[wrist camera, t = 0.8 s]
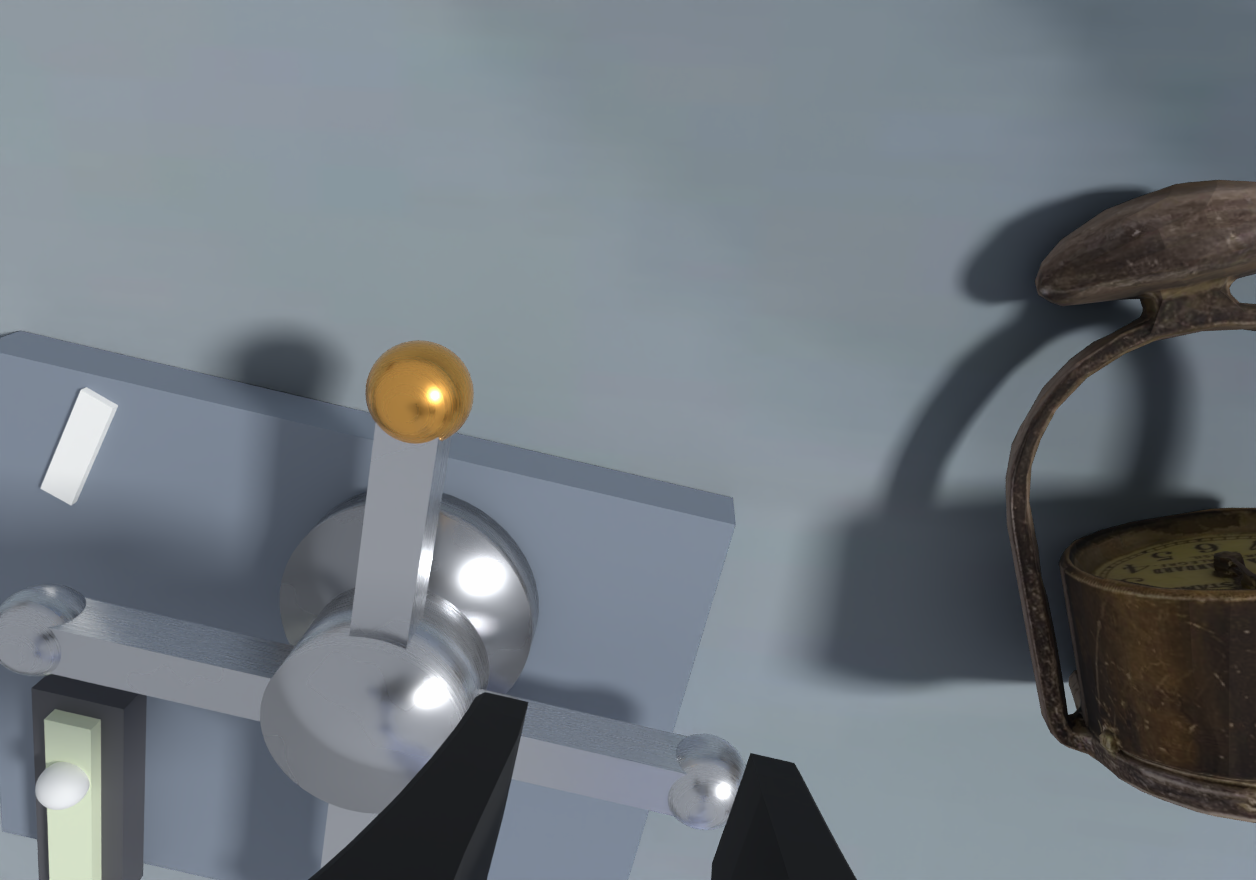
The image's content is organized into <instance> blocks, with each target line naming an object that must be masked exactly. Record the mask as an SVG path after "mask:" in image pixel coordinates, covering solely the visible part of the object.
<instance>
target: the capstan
mask: <svg viewBox="0 0 1256 880" xmlns="http://www.w3.org/2000/svg"><path fill="white" fill-rule="evenodd" d="M473 395H474V393H473V384H472V380H471V377H470V374H469V372H468V370H467V368H466V366H465V365H464V363H463V362H462V361H461V359H460V358H459V357H458V356H457V355H456V354H455V353H453V352H452V351H451V350H449V349H447V348H446V347H444V346H442V345H439V344H436V343H433V342H429V341H419V340H417V341H409V342H404V343H401V344H398V345H396V346H394V347H392V348H391V349H389V350H387V351H386V352H385V353H383V354H382V355H381V356H380V358H379V359H378V360H377V361H376V362H375V364H374V365H373V367H372V369H371V371H370V373H369V376H368V379H367V383H366V402H367V406H368V409H369V412H370V414H371V416H372V418H373V420H374V421H375V432H374V440H373V448H372V456H371V464H370V472H369V480H368V488H367V492H365V493H362V494H359V495H356V496H354V497H352V498H350V499H348V500H346V501H344V502H342V503H340V504H339V505H338V506H336V507H335V508H333V509H332V510H331V511H329V512H328V513H327V514H326V515H325V516H324V517H323V518H322V519H321V520H320V521H319V522H318V523H317V524H316V525H315V526H314V528H313V529H312V530H311V531H310V532H309V533H308V534H307V535H306V536H305V538H304V539H303V540H302V541H301V542H300V544H299V545H298V546H297V548H296V549H295V550H294V552H293V553H292V555H291V557H290V559H289V561H288V563H287V565H286V568H285V570H284V573H283V576H282V581H281V587H280V613H281V621H282V624H283V628H284V631H285V635H286V637H287V639H288V642H289V644H290V645H288V644H284V643H280V642H275V641H271V640H266V639H262V638H258V637H253V636H249V635H245V634H240V633H236V632H232V631H227V630H223V629H219V628H214V627H210V626H206V625H201V624H197V623H193V622H188V621H184V620H180V619H175V618H171V617H167V616H162V615H158V614H154V613H149V612H145V611H141V610H136V609H132V608H128V607H123V606H119V605H114V604H110V603H106V602H101V601H97V600H93V599H88V598H86V597H85V596H84V595H82V594H81V593H80V592H78V591H77V590H75V589H73V588H70V587H67V586H64V585H60V584H38V585H33V586H29V587H27V588H24V589H22V590H19V591H18V592H16V593H14V594H12V595H11V596H10V597H8V598H7V599H6V600H5V601H3V603H2V604H1V605H0V664H1V665H3V666H4V667H5V668H7V669H9V670H11V671H13V672H15V673H18V674H21V675H26V676H46V675H51V674H55V675H59V676H64V677H68V678H72V679H77V680H81V681H85V682H90V683H94V684H99V685H103V686H107V687H112V688H116V689H120V690H125V691H129V692H133V693H138V694H142V695H147V696H151V697H155V698H160V699H164V700H168V701H173V702H177V703H182V704H186V705H190V706H195V707H199V708H203V709H208V710H212V711H217V712H221V713H225V714H230V715H234V716H238V717H243V718H247V719H251V720H256V721H260V723H261V730H262V734H263V737H264V740H265V743H266V745H267V747H268V749H269V752H270V753H271V755H272V757H273V758H274V760H275V761H276V763H277V764H278V765H279V767H280V768H281V769H282V770H283V772H284V773H285V774H286V775H287V776H288V777H289V778H290V779H291V780H292V781H293V782H295V783H296V784H297V785H299V786H300V787H301V788H302V789H304V790H305V791H307V792H308V793H310V794H312V795H313V796H315V797H317V798H319V799H321V800H323V801H325V802H327V803H329V804H328V813H327V821H326V829H325V837H324V845H323V853H322V861H321V868H322V867H323V866H325V865H326V864H327V863H328V862H329V861H330V860H331V859H332V858H334V857H335V856H336V855H337V854H338V853H339V852H340V851H341V850H342V849H343V848H345V847H346V846H347V845H348V844H349V843H350V842H351V841H352V840H353V839H354V838H355V837H356V836H357V835H358V834H359V833H360V832H361V831H362V830H363V829H364V828H365V827H366V826H367V825H368V824H369V823H370V822H371V821H372V820H373V819H374V818H375V817H376V816H377V815H378V814H380V813H381V812H382V811H383V810H384V809H385V808H386V807H387V806H388V805H389V804H390V803H391V802H392V801H393V800H394V798H395V797H396V796H397V795H398V794H399V793H400V792H401V791H402V790H403V789H404V788H405V787H406V785H407V784H408V783H409V782H410V781H411V780H412V779H413V778H414V776H415V775H416V774H417V773H418V772H419V771H420V770H421V769H422V767H423V766H424V765H425V764H426V763H427V762H428V761H429V760H430V758H431V757H432V756H433V755H434V754H435V752H436V751H437V750H438V749H439V748H440V746H441V745H442V744H443V743H444V741H445V740H446V739H447V738H448V736H449V735H450V734H451V732H452V731H453V730H454V729H455V727H456V726H457V724H458V723H459V722H460V720H461V719H462V717H463V716H464V714H465V713H466V712H467V710H468V709H469V707H470V705H471V704H472V702H473V700H474V698H475V697H476V696H478V695H480V694H482V693H484V692H487V693H491V694H496V695H500V696H505V697H509V698H513V699H518V700H522V701H526V702H529V703H528V707H527V712H526V716H525V721H524V725H523V730H522V734H521V739H520V743H519V748H518V752H517V757H516V761H515V766H514V770H513V775H512V779H514V780H518V781H522V782H527V783H531V784H536V785H540V786H544V787H549V788H553V789H557V790H562V791H566V792H570V793H575V794H579V795H584V796H588V797H592V798H597V799H601V800H605V801H610V802H614V803H619V804H623V805H627V806H632V807H636V808H640V809H645V810H649V811H654V812H658V813H662V814H667V815H671V816H674V817H675V818H676V819H678V820H679V821H680V822H681V823H683V824H685V825H687V826H689V827H692V828H695V829H699V830H712V829H717V828H720V827H722V826H724V825H726V822H727V819H728V817H729V814H730V811H731V808H732V805H733V802H734V799H735V796H736V794H737V791H738V788H739V785H740V782H741V779H742V776H743V774H744V771H745V768H746V764H745V762H744V760H743V758H742V756H741V755H740V753H739V752H738V751H737V749H736V748H735V747H734V746H733V745H731V744H730V743H729V742H728V741H726V740H724V739H722V738H720V737H718V736H715V735H711V734H695V735H691V736H683V735H679V734H675V733H670V732H666V731H662V730H657V729H653V728H649V727H644V726H640V725H636V724H631V723H627V722H623V721H618V720H614V719H610V718H605V717H601V716H597V715H592V714H588V713H583V712H579V711H575V710H570V709H566V708H562V707H557V706H553V705H549V704H544V703H540V702H536V701H531V700H527V699H523V698H518V697H514V696H510V695H505V694H506V693H507V692H508V691H509V690H510V689H511V688H512V686H513V685H514V683H515V682H516V680H517V679H518V678H519V676H520V674H521V672H522V670H523V668H524V666H525V664H526V661H527V658H528V654H529V651H530V648H531V644H532V641H533V638H534V634H535V631H536V628H537V622H538V615H539V598H538V592H537V586H536V582H535V579H534V576H533V572H532V570H531V568H530V565H529V563H528V561H527V559H526V557H525V555H524V554H523V552H522V551H521V549H520V548H519V546H518V544H517V543H516V542H515V541H514V539H513V538H512V537H511V536H510V535H509V534H508V532H507V531H506V530H505V529H504V528H503V527H502V526H500V525H499V524H498V523H497V522H496V521H495V520H494V519H493V518H491V517H490V516H488V515H487V514H486V513H484V512H483V511H482V510H480V509H478V508H476V507H475V506H473V505H471V504H469V503H468V502H466V501H463V500H461V499H459V498H456V497H454V496H452V495H449V494H445V493H443V488H444V482H445V475H446V469H447V463H448V457H449V450H450V444H451V438H452V435H453V434H455V433H456V432H457V431H458V430H459V429H460V428H461V427H462V425H463V424H464V423H465V421H466V419H467V418H468V416H469V413H470V411H471V408H472V404H473Z"/></svg>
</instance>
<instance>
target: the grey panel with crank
mask: <svg viewBox="0 0 1256 880" xmlns="http://www.w3.org/2000/svg"><path fill="white" fill-rule="evenodd" d="M374 432H375V421H374V420H373V418H372V416H371V414H370V413H369V412H365V411H360V410H356V409H352V408H347V407H343V406H339V405H335V404H330V403H326V402H322V401H318V400H313V399H309V398H305V397H301V396H296V395H292V394H288V393H284V392H279V391H275V390H271V389H267V388H262V387H258V386H254V385H249V384H245V383H241V382H237V381H232V380H228V379H224V378H220V377H215V376H211V375H207V374H203V373H198V372H194V371H190V370H186V369H181V368H177V367H173V366H169V365H164V364H160V363H156V362H151V361H147V360H143V359H139V358H134V357H130V356H126V355H122V354H117V353H113V352H109V351H105V350H100V349H96V348H92V347H88V346H83V345H79V344H75V343H70V342H66V341H62V340H58V339H53V338H49V337H45V336H41V335H36V334H32V333H28V332H24V331H19V332H16V333H13V334H10V335H7V336H4V337H0V605H1V604H2V603H3V601H5V600H6V599H7V598H8V597H10V596H11V595H12V594H14V593H16V592H18V591H19V590H22V589H24V588H27V587H29V586H33V585H38V584H60V585H64V586H67V587H70V588H73V589H75V590H77V591H78V592H80V593H81V594H82V595H84V596H85V597H86V598H88V599H93V600H97V601H101V602H106V603H110V604H114V605H119V606H123V607H128V608H132V609H136V610H141V611H145V612H149V613H154V614H158V615H162V616H167V617H171V618H175V619H180V620H184V621H188V622H193V623H197V624H201V625H206V626H210V627H214V628H219V629H223V630H227V631H232V632H236V633H240V634H245V635H249V636H253V637H258V638H262V639H266V640H271V641H275V642H280V643H284V644H288V645H290V644H289V642H288V639H287V637H286V635H285V631H284V628H283V624H282V621H281V613H280V587H281V581H282V576H283V573H284V570H285V568H286V565H287V563H288V561H289V559H290V557H291V555H292V553H293V552H294V550H295V549H296V548H297V546H298V545H299V544H300V542H301V541H302V540H303V539H304V538H305V536H306V535H307V534H308V533H309V532H310V531H311V530H312V529H313V528H314V526H315V525H316V524H317V523H318V522H319V521H320V520H321V519H322V518H323V517H324V516H325V515H326V514H327V513H328V512H329V511H331V510H332V509H333V508H335V507H336V506H338V505H339V504H340V503H342V502H344V501H346V500H348V499H350V498H352V497H354V496H356V495H359V494H362V493H365V492H367V488H368V480H369V472H370V464H371V456H372V448H373V440H374ZM443 493H445V494H449V495H452V496H454V497H456V498H459V499H461V500H463V501H466V502H468V503H469V504H471V505H473V506H475V507H476V508H478V509H480V510H482V511H483V512H484V513H486V514H487V515H488V516H490V517H491V518H493V519H494V520H495V521H496V522H497V523H498V524H499V525H500V526H502V527H503V528H504V529H505V530H506V531H507V532H508V534H509V535H510V536H511V537H512V538H513V539H514V541H515V542H516V543H517V544H518V546H519V548H520V549H521V551H522V552H523V554H524V555H525V557H526V559H527V561H528V563H529V565H530V568H531V570H532V572H533V576H534V579H535V582H536V586H537V592H538V598H539V615H538V622H537V628H536V631H535V634H534V638H533V641H532V644H531V648H530V651H529V654H528V658H527V661H526V664H525V666H524V668H523V670H522V672H521V674H520V676H519V678H518V679H517V680H516V682H515V683H514V685H513V686H512V688H511V689H510V690H509V691H508V692H507V693H506V694H505V695H510V696H514V697H518V698H523V699H527V700H531V701H536V702H540V703H544V704H549V705H553V706H557V707H562V708H566V709H570V710H575V711H579V712H583V713H588V714H592V715H597V716H601V717H605V718H610V719H614V720H618V721H623V722H627V723H631V724H636V725H640V726H644V727H649V728H653V729H657V730H662V731H666V732H670V733H673V730H674V727H675V723H676V720H677V717H678V713H679V710H680V707H681V704H682V700H683V697H684V694H685V690H686V687H687V684H688V680H689V677H690V674H691V671H692V667H693V664H694V661H695V657H696V654H697V651H698V647H699V644H700V641H701V638H702V634H703V631H704V628H705V624H706V621H707V618H708V614H709V611H710V608H711V605H712V601H713V598H714V595H715V591H716V588H717V585H718V581H719V578H720V575H721V572H722V568H723V565H724V562H725V558H726V555H727V552H728V549H729V545H730V542H731V539H732V535H733V532H734V529H735V525H736V524H735V514H734V504H733V498H731V497H727V496H722V495H718V494H714V493H710V492H705V491H701V490H697V489H693V488H688V487H684V486H680V485H676V484H671V483H667V482H663V481H659V480H654V479H650V478H646V477H641V476H637V475H633V474H629V473H624V472H620V471H616V470H612V469H607V468H603V467H599V466H595V465H590V464H586V463H582V462H578V461H573V460H569V459H565V458H561V457H556V456H552V455H548V454H543V453H539V452H535V451H531V450H526V449H522V448H518V447H514V446H509V445H505V444H501V443H497V442H492V441H488V440H484V439H480V438H475V437H471V436H467V435H463V434H458V433H455V434H453V435H452V438H451V444H450V450H449V457H448V463H447V469H446V475H445V482H444V488H443ZM0 802H1V819H2V831H4V832H8V833H12V834H17V835H21V836H26V837H30V838H35V839H37V842H38V868H39V880H140V879H141V877H142V876H143V863H145V864H150V865H154V866H158V867H163V868H167V869H172V870H176V871H181V872H185V873H189V874H194V875H198V876H203V877H207V878H212V879H216V880H308V879H309V878H311V877H312V876H313V875H314V874H315V873H317V872H318V871H319V870H320V869H321V861H322V853H323V845H324V837H325V829H326V821H327V813H328V804H329V803H327V802H325V801H323V800H321V799H319V798H317V797H315V796H313V795H312V794H310V793H308V792H307V791H305V790H304V789H302V788H301V787H300V786H299V785H297V784H296V783H295V782H293V781H292V780H291V779H290V778H289V777H288V776H287V775H286V774H285V773H284V772H283V770H282V769H281V768H280V767H279V765H278V764H277V763H276V761H275V760H274V758H273V757H272V755H271V753H270V752H269V749H268V747H267V745H266V743H265V740H264V737H263V734H262V730H261V723H260V721H256V720H251V719H247V718H243V717H238V716H234V715H230V714H225V713H221V712H217V711H212V710H208V709H203V708H199V707H195V706H190V705H186V704H182V703H177V702H173V701H168V700H164V699H160V698H155V697H151V696H147V695H142V694H138V693H133V692H129V691H125V690H120V689H116V688H112V687H107V686H103V685H99V684H94V683H90V682H85V681H81V680H77V679H72V678H68V677H64V676H59V675H55V674H51V675H46V676H26V675H21V674H18V673H15V672H13V671H11V670H9V669H7V668H5V667H4V666H3V665H1V664H0ZM648 812H649V810H645V809H640V808H636V807H632V806H627V805H623V804H619V803H614V802H610V801H605V800H601V799H597V798H592V797H588V796H584V795H579V794H575V793H570V792H566V791H562V790H557V789H553V788H549V787H544V786H540V785H536V784H531V783H527V782H522V781H518V780H514V779H511V784H510V788H509V793H508V797H507V802H506V806H505V811H504V815H503V819H502V823H501V827H500V831H499V835H498V838H497V842H496V846H495V850H494V854H493V858H492V862H491V866H490V869H489V873H488V877H487V880H628V878H629V875H630V872H631V868H632V865H633V862H634V858H635V855H636V852H637V849H638V845H639V842H640V839H641V835H642V832H643V829H644V826H645V822H646V819H647V816H648Z"/></svg>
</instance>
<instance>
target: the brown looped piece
mask: <svg viewBox="0 0 1256 880" xmlns="http://www.w3.org/2000/svg"><path fill="white" fill-rule="evenodd" d="M1253 274H1256V182H1249V181H1229V180H1212V181H1200V182H1188V183H1181V184H1175V185H1172V186H1169V187H1166V188H1163V189H1160V190H1157V191H1155V192H1152V193H1149V194H1146V195H1143V196H1140V197H1137V198H1134V199H1132V200H1129V201H1127V202H1124V203H1122V204H1119V205H1116V206H1114V207H1111V208H1109V209H1106V210H1104V211H1102V212H1101V213H1100V214H1098V215H1097V216H1095V217H1094V218H1092V219H1091V220H1089V221H1088V222H1086V223H1085V224H1084V225H1082V226H1081V227H1079V228H1078V229H1076V230H1075V231H1073V232H1072V233H1070V234H1069V235H1067V236H1066V237H1065V238H1063V239H1062V240H1060V241H1059V243H1058V244H1057V245H1056V246H1055V247H1054V248H1053V250H1052V251H1051V252H1050V253H1049V254H1048V256H1047V257H1046V258H1045V259H1044V260H1043V261H1042V263H1041V266H1040V268H1039V271H1038V274H1037V277H1036V279H1035V284H1036V288H1037V292H1038V295H1040V296H1041V297H1043V298H1045V299H1046V300H1048V301H1050V302H1051V303H1054V304H1057V305H1060V306H1069V305H1078V304H1086V303H1095V302H1104V301H1112V300H1124V299H1140V301H1141V304H1142V307H1143V312H1142V314H1141V316H1140V318H1138V319H1136V320H1135V321H1133V322H1131V323H1129V324H1128V325H1126V326H1124V327H1122V328H1120V329H1119V330H1117V331H1115V332H1113V333H1112V334H1110V335H1107V336H1105V337H1103V338H1101V339H1099V340H1097V341H1094V342H1093V343H1091V344H1090V345H1089V346H1087V347H1086V348H1085V349H1083V350H1082V351H1080V352H1079V353H1078V354H1076V355H1075V356H1074V357H1072V358H1071V359H1070V360H1069V361H1068V362H1067V363H1066V364H1065V365H1064V366H1063V367H1062V368H1061V369H1060V370H1059V371H1058V372H1057V373H1056V374H1055V375H1054V376H1053V377H1052V378H1051V380H1050V381H1049V382H1048V383H1047V384H1046V385H1045V386H1044V387H1043V388H1042V390H1041V392H1040V393H1039V395H1038V397H1037V399H1036V400H1035V402H1034V404H1033V406H1032V407H1031V409H1030V411H1029V413H1028V414H1027V416H1026V418H1025V420H1024V421H1023V423H1022V425H1021V426H1020V428H1019V430H1018V432H1017V434H1016V436H1015V438H1014V441H1013V443H1012V446H1011V451H1010V457H1009V462H1008V468H1007V473H1006V513H1007V528H1008V533H1009V538H1010V544H1011V549H1012V555H1013V560H1014V566H1015V572H1016V577H1017V583H1018V588H1019V594H1020V600H1021V605H1022V611H1023V616H1024V622H1025V627H1026V633H1027V638H1028V644H1029V649H1030V654H1031V660H1032V665H1033V670H1034V676H1035V681H1036V686H1037V692H1038V697H1039V702H1040V708H1041V713H1042V716H1043V718H1044V720H1045V722H1046V724H1047V726H1048V728H1049V730H1050V732H1051V734H1052V735H1053V736H1054V737H1055V738H1056V739H1057V740H1058V741H1059V742H1060V743H1062V744H1063V745H1065V746H1067V747H1069V748H1072V749H1075V750H1078V751H1080V752H1083V753H1086V754H1089V755H1090V756H1091V757H1093V758H1094V759H1096V760H1097V761H1099V762H1100V763H1102V764H1103V765H1104V766H1105V767H1107V768H1108V769H1109V770H1110V771H1111V772H1113V773H1114V774H1115V775H1116V776H1117V777H1118V778H1120V779H1121V780H1123V781H1124V782H1126V783H1128V784H1130V785H1131V786H1133V787H1135V788H1137V789H1138V790H1140V791H1142V792H1144V793H1147V794H1149V795H1152V796H1154V797H1157V798H1159V799H1162V800H1164V801H1167V802H1170V803H1173V804H1176V805H1179V806H1182V807H1185V808H1187V809H1190V810H1193V811H1196V812H1200V813H1204V814H1208V815H1212V816H1217V817H1223V818H1229V819H1235V820H1241V821H1247V822H1252V823H1256V508H1219V509H1208V510H1202V511H1195V512H1189V513H1183V514H1177V515H1171V516H1165V517H1159V518H1153V519H1146V520H1140V521H1134V522H1131V523H1127V524H1123V525H1119V526H1115V527H1111V528H1107V529H1103V530H1100V531H1098V532H1095V533H1093V534H1090V535H1088V536H1085V537H1083V538H1080V539H1078V540H1075V541H1074V542H1073V543H1072V544H1071V545H1070V546H1069V547H1068V548H1067V549H1065V551H1064V552H1063V554H1062V556H1061V559H1060V561H1059V567H1060V573H1061V578H1062V584H1063V590H1064V596H1065V603H1066V610H1067V616H1068V621H1069V627H1070V633H1071V639H1072V644H1073V650H1074V657H1075V663H1076V669H1077V670H1075V671H1074V672H1073V673H1072V674H1071V675H1070V676H1069V687H1070V689H1071V692H1072V695H1073V698H1074V702H1075V705H1076V709H1077V710H1076V712H1075V713H1074V714H1070V715H1068V712H1067V705H1066V698H1065V691H1064V684H1063V678H1062V672H1061V666H1060V660H1059V654H1058V648H1057V642H1056V637H1055V632H1054V627H1053V622H1052V618H1051V613H1050V608H1049V603H1048V599H1047V595H1046V591H1045V588H1044V584H1043V581H1042V577H1041V568H1040V560H1039V551H1038V545H1037V540H1036V535H1035V529H1034V524H1033V519H1032V513H1031V508H1030V502H1029V496H1030V480H1031V466H1032V463H1033V460H1034V457H1035V454H1036V451H1037V448H1038V446H1039V443H1040V440H1041V438H1042V436H1043V434H1044V432H1045V430H1046V428H1047V426H1048V424H1049V422H1050V421H1051V419H1052V417H1053V415H1054V413H1055V411H1056V409H1057V408H1058V407H1059V406H1060V405H1061V404H1062V403H1063V402H1064V401H1065V400H1066V399H1067V398H1068V397H1069V396H1070V395H1071V394H1072V393H1073V392H1074V391H1075V390H1076V389H1077V388H1078V387H1079V386H1080V385H1081V383H1082V382H1083V381H1084V380H1085V379H1086V378H1087V377H1089V376H1091V375H1092V374H1094V373H1095V372H1097V371H1098V370H1100V369H1102V368H1103V367H1105V366H1106V365H1108V364H1109V363H1111V362H1112V361H1114V360H1116V359H1117V358H1119V357H1120V356H1122V355H1123V354H1125V353H1128V352H1130V351H1132V350H1135V349H1137V348H1139V347H1142V346H1144V345H1146V344H1149V343H1151V342H1153V341H1157V340H1162V339H1167V338H1172V337H1176V336H1181V335H1186V334H1191V333H1196V332H1200V331H1215V330H1238V329H1244V330H1251V331H1256V304H1248V303H1239V302H1238V301H1237V300H1236V299H1235V298H1234V297H1233V296H1232V295H1231V293H1230V289H1229V287H1230V286H1231V284H1232V283H1233V282H1234V281H1235V280H1236V279H1237V278H1241V277H1245V276H1249V275H1253Z"/></svg>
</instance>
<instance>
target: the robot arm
mask: <svg viewBox="0 0 1256 880" xmlns="http://www.w3.org/2000/svg"><path fill="white" fill-rule="evenodd" d="M528 703H529V702H526V701H522V700H518V699H513V698H509V697H505V696H500V695H496V694H491V693H487V692H484V693H482V694H480V695H478V696H476V697H475V698H474V700H473V702H472V704H471V705H470V707H469V709H468V710H467V712H466V713H465V714H464V716H463V717H462V719H461V720H460V722H459V723H458V724H457V726H456V727H455V729H454V730H453V731H452V732H451V734H450V735H449V736H448V738H447V739H446V740H445V741H444V743H443V744H442V745H441V746H440V748H439V749H438V750H437V751H436V752H435V754H434V755H433V756H432V757H431V758H430V760H429V761H428V762H427V763H426V764H425V765H424V766H423V767H422V769H421V770H420V771H419V772H418V773H417V774H416V775H415V776H414V778H413V779H412V780H411V781H410V782H409V783H408V784H407V785H406V787H405V788H404V789H403V790H402V791H401V792H400V793H399V794H398V795H397V796H396V797H395V798H394V800H393V801H392V802H391V803H390V804H389V805H388V806H387V807H386V808H385V809H384V810H383V811H382V812H381V813H380V814H378V815H377V816H376V817H375V818H374V819H373V820H372V821H371V822H370V823H369V824H368V825H367V826H366V827H365V828H364V829H363V830H362V831H361V832H360V833H359V834H358V835H357V836H356V837H355V838H354V839H353V840H352V841H351V842H350V843H349V844H348V845H347V846H346V847H345V848H343V849H342V850H341V851H340V852H339V853H338V854H337V855H336V856H335V857H334V858H332V859H331V860H330V861H329V862H328V863H327V864H326V865H325V866H323V867H322V868H321V869H320V870H319V871H318V872H317V873H315V874H314V875H313V876H312V877H311V878H309V879H308V880H487V877H488V873H489V869H490V866H491V862H492V858H493V854H494V850H495V846H496V842H497V838H498V835H499V831H500V827H501V823H502V819H503V815H504V811H505V806H506V802H507V797H508V793H509V788H510V784H511V779H512V775H513V770H514V766H515V761H516V757H517V752H518V748H519V743H520V739H521V734H522V730H523V725H524V721H525V716H526V712H527V707H528ZM711 880H857V879H856V877H855V876H854V874H853V872H852V870H851V869H850V867H849V865H848V863H847V861H846V860H845V858H844V856H843V854H842V852H841V850H840V849H839V847H838V845H837V843H836V841H835V839H834V837H833V835H832V834H831V832H830V830H829V828H828V826H827V824H826V822H825V820H824V818H823V817H822V815H821V813H820V811H819V809H818V807H817V805H816V803H815V801H814V799H813V797H812V795H811V793H810V791H809V789H808V787H807V786H806V784H805V782H804V780H803V778H802V776H801V774H800V772H799V770H798V769H797V767H796V765H795V764H794V763H791V762H787V761H783V760H778V759H774V758H770V757H765V756H761V755H756V754H752V753H750V756H749V759H748V762H747V765H746V768H745V771H744V774H743V776H742V779H741V782H740V785H739V788H738V791H737V794H736V796H735V799H734V802H733V805H732V808H731V811H730V814H729V817H728V819H727V822H726V825H725V828H724V831H723V834H722V837H721V839H720V842H719V845H718V848H717V851H716V854H715V857H714V860H713V862H712V876H711Z"/></svg>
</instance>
